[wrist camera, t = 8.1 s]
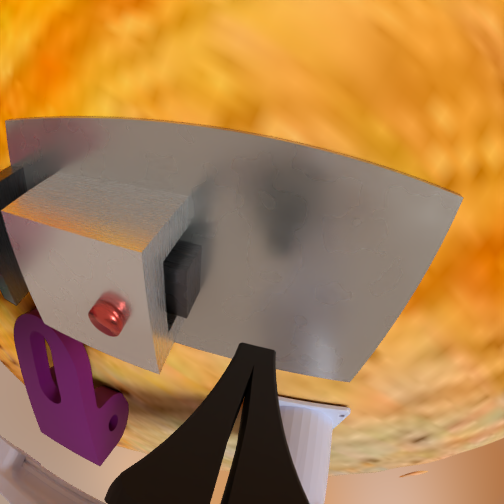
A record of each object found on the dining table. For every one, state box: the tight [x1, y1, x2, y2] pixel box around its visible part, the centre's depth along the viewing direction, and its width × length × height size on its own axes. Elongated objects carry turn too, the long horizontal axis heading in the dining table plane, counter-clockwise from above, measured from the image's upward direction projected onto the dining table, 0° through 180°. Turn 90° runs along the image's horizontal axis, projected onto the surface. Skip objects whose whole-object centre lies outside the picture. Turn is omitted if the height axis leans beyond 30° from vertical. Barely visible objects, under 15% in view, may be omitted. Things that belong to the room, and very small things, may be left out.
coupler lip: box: [0, 116, 463, 382], centre depth 13 cm, size 14×24×4 cm, turn 82°
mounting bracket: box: [14, 308, 129, 466], centre depth 26 cm, size 9×8×18 cm
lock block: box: [1, 173, 188, 374], centre depth 13 cm, size 8×8×5 cm
